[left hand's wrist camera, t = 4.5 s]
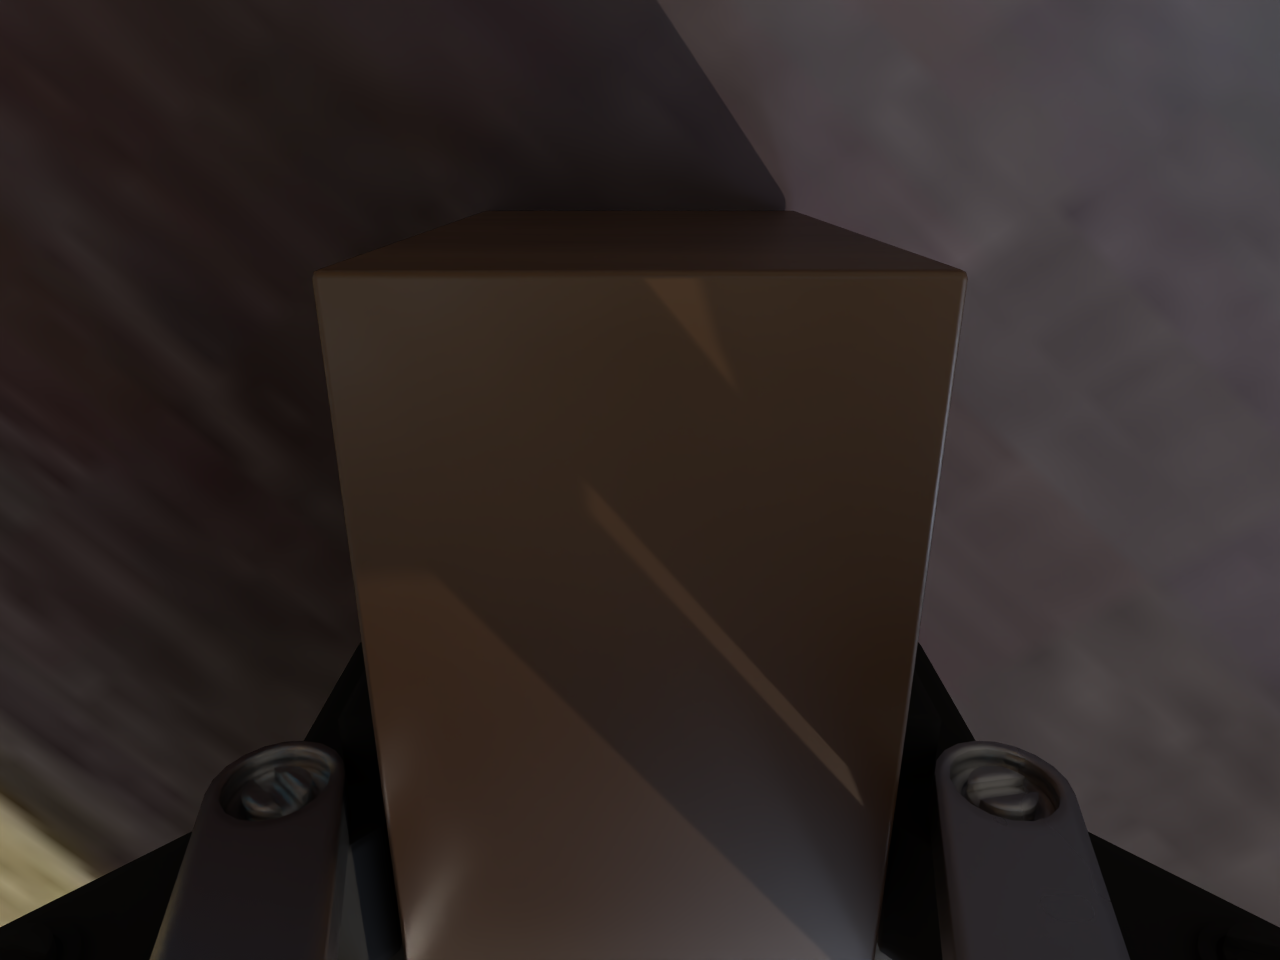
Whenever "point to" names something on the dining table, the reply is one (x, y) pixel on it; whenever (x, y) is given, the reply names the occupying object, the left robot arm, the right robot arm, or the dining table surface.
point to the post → (639, 572)
